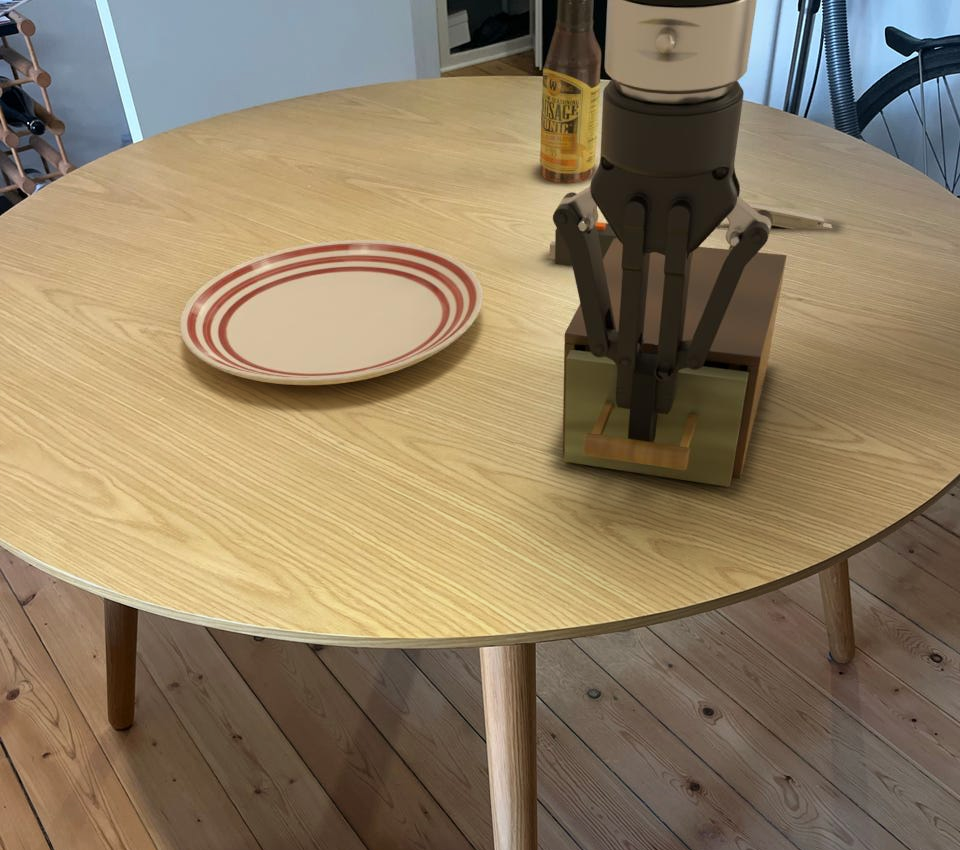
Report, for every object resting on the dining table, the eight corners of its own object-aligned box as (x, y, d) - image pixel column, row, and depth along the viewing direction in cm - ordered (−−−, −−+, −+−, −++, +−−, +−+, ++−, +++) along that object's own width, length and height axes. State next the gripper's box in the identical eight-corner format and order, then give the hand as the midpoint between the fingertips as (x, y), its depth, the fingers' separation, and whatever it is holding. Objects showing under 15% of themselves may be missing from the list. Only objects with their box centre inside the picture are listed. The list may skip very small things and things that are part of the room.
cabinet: (739, 484, 76) (761, 357, 68) (562, 457, 79) (564, 333, 72) (765, 376, 86) (786, 254, 79) (607, 356, 90) (613, 237, 82)
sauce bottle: (529, 179, 117) (527, -21, 103) (565, 163, 120) (568, -34, 106) (571, 194, 114) (576, -11, 100) (607, 177, 117) (617, -25, 103)
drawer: (716, 536, 71) (734, 428, 64) (543, 507, 74) (544, 401, 67) (755, 383, 84) (772, 281, 78) (607, 364, 87) (612, 265, 81)
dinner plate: (165, 299, 101) (156, 266, 98) (427, 244, 107) (425, 212, 104) (218, 446, 82) (208, 410, 80) (530, 370, 88) (530, 335, 86)
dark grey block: (619, 264, 102) (622, 220, 99) (614, 275, 100) (616, 231, 97) (553, 257, 103) (554, 214, 100) (547, 268, 102) (547, 225, 99)
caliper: (632, 233, 106) (636, 171, 102) (632, 229, 107) (636, 167, 103) (833, 235, 104) (846, 171, 100) (832, 230, 105) (845, 167, 101)
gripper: (538, 95, 54) (537, 463, 71) (790, 112, 51) (726, 493, 68) (573, 51, 59) (564, 405, 76) (805, 65, 56) (742, 431, 73)
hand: (640, 446), depth 72 cm, fingers closed
